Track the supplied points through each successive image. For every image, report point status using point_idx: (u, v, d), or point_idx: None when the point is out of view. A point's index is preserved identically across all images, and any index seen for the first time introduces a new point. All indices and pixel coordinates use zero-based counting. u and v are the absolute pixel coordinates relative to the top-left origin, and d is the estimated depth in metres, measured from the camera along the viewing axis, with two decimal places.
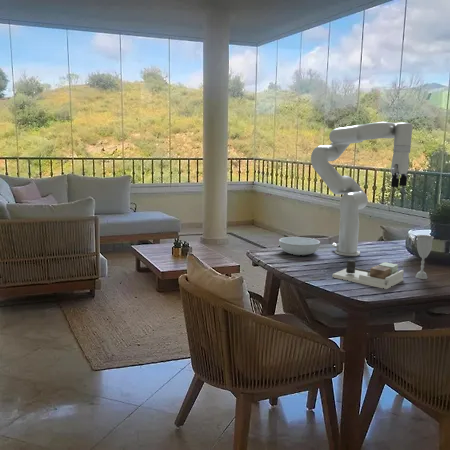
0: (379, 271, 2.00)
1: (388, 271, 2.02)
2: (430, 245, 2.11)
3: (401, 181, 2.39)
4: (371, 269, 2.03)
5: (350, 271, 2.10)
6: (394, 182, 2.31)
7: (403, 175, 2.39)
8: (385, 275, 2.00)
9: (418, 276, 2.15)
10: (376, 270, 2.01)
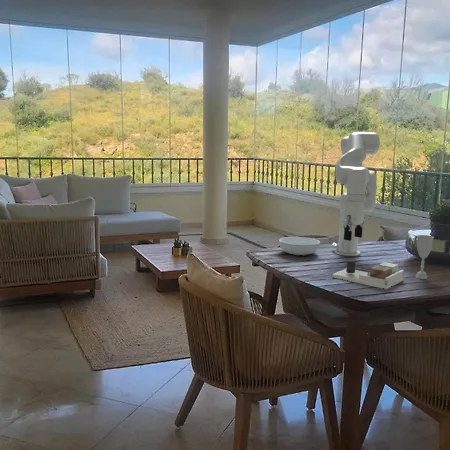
0: (379, 271, 2.00)
1: (388, 271, 2.02)
2: (430, 245, 2.11)
3: (356, 232, 2.13)
4: (371, 269, 2.03)
5: (350, 271, 2.10)
6: (346, 235, 2.05)
7: (358, 225, 2.12)
8: (385, 275, 2.00)
9: (418, 276, 2.15)
10: (376, 270, 2.01)
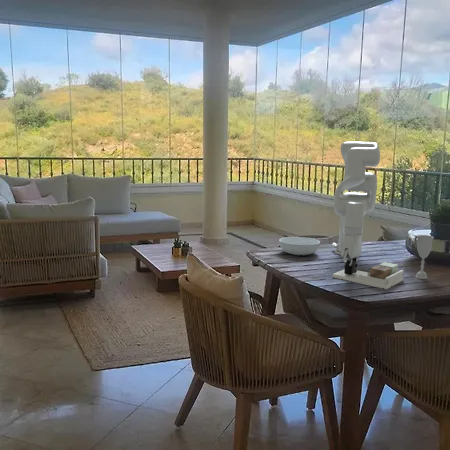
0: (379, 271, 2.00)
1: (388, 271, 2.02)
2: (430, 245, 2.11)
3: None
4: (371, 269, 2.03)
5: None
6: (347, 269, 2.09)
7: None
8: (385, 275, 2.00)
9: (418, 276, 2.15)
10: (376, 270, 2.01)
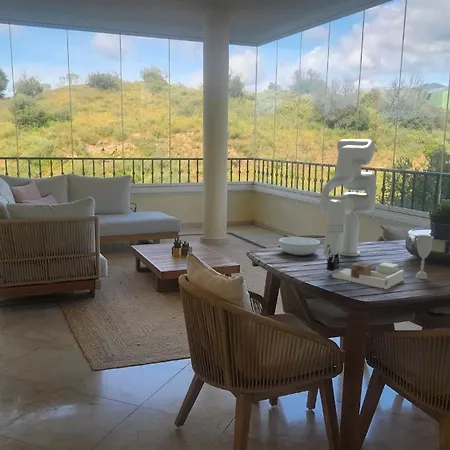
0: (360, 267, 2.06)
1: (369, 268, 2.08)
2: (430, 245, 2.11)
3: None
4: (352, 265, 2.08)
5: None
6: (329, 266, 2.15)
7: None
8: (365, 271, 2.06)
9: (418, 276, 2.15)
10: (357, 266, 2.07)
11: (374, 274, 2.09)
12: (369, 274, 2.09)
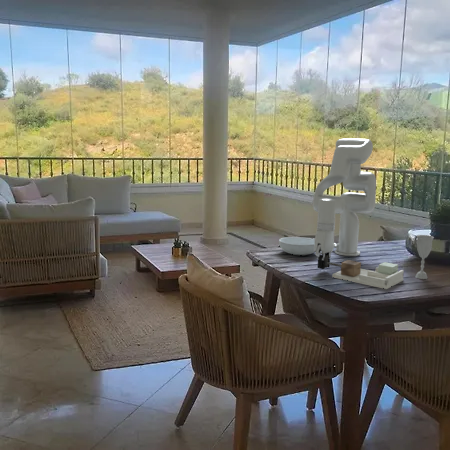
0: (349, 265, 2.09)
1: (358, 266, 2.10)
2: (430, 245, 2.11)
3: None
4: (342, 263, 2.11)
5: None
6: (320, 264, 2.18)
7: None
8: (355, 269, 2.09)
9: (418, 276, 2.15)
10: (347, 264, 2.10)
11: (374, 274, 2.09)
12: (359, 272, 2.12)
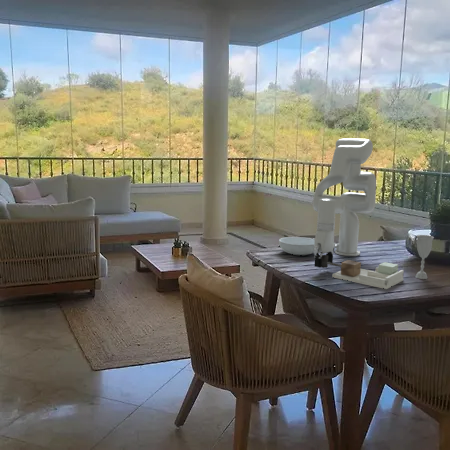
0: (349, 265, 2.09)
1: (358, 266, 2.10)
2: (430, 245, 2.11)
3: None
4: (342, 263, 2.11)
5: (323, 265, 2.19)
6: (317, 262, 2.16)
7: (329, 252, 2.23)
8: (355, 269, 2.09)
9: (418, 276, 2.15)
10: (346, 264, 2.10)
11: (374, 274, 2.09)
12: (359, 272, 2.12)
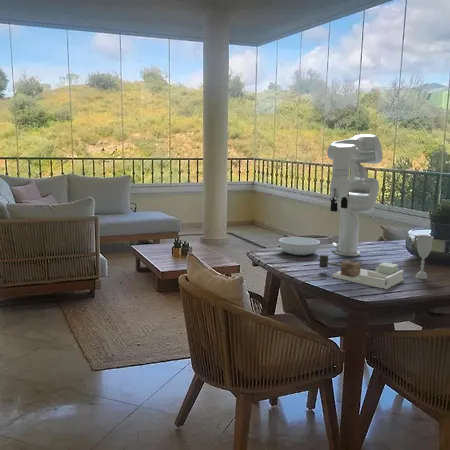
0: (349, 265, 2.09)
1: (358, 266, 2.10)
2: (430, 245, 2.11)
3: (342, 204, 2.35)
4: (342, 263, 2.11)
5: (323, 265, 2.19)
6: (333, 207, 2.27)
7: (344, 197, 2.35)
8: (355, 269, 2.09)
9: (418, 276, 2.15)
10: (346, 264, 2.10)
11: (374, 274, 2.09)
12: (359, 272, 2.12)
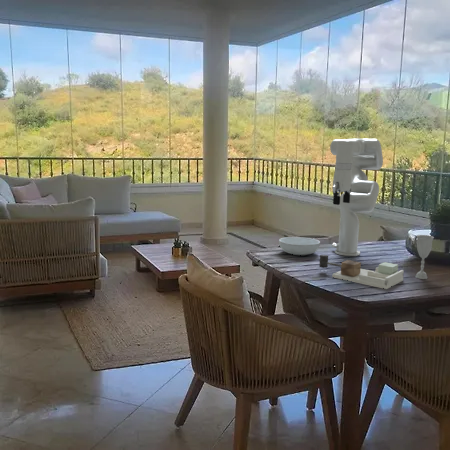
0: (349, 265, 2.09)
1: (358, 266, 2.10)
2: (430, 245, 2.11)
3: (344, 198, 2.38)
4: (342, 263, 2.11)
5: (323, 265, 2.19)
6: (335, 200, 2.29)
7: (346, 192, 2.37)
8: (355, 269, 2.09)
9: (418, 276, 2.15)
10: (346, 264, 2.10)
11: (374, 274, 2.09)
12: (359, 272, 2.12)
